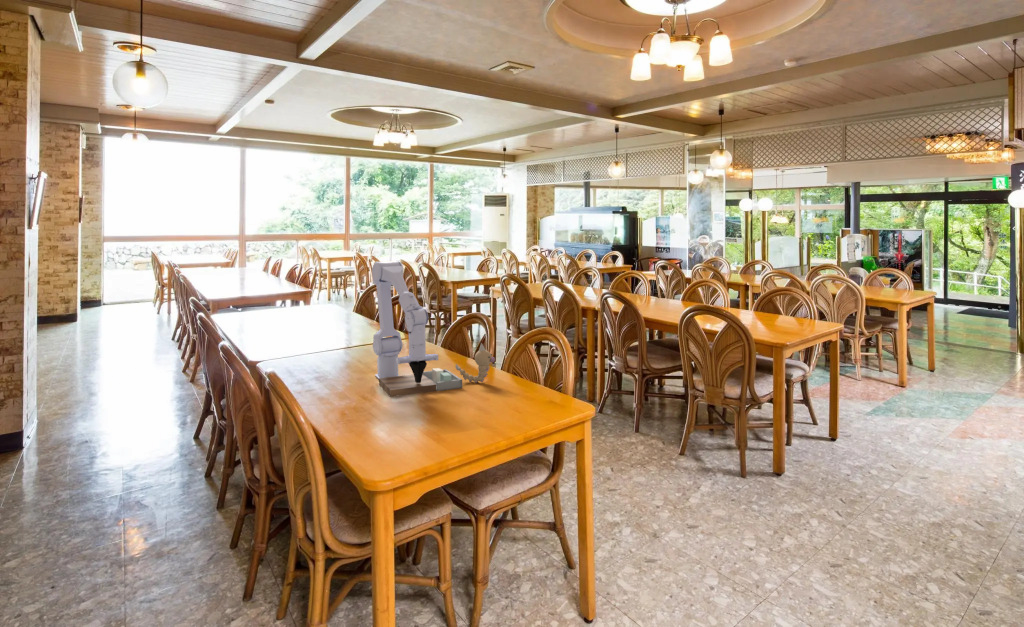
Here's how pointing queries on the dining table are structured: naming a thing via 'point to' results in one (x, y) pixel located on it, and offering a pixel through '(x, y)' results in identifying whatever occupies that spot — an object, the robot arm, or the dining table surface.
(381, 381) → the board
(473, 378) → the toy
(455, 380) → the tray
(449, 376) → the grey-green block
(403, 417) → the dining table surface
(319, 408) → the dining table surface
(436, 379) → the tile
